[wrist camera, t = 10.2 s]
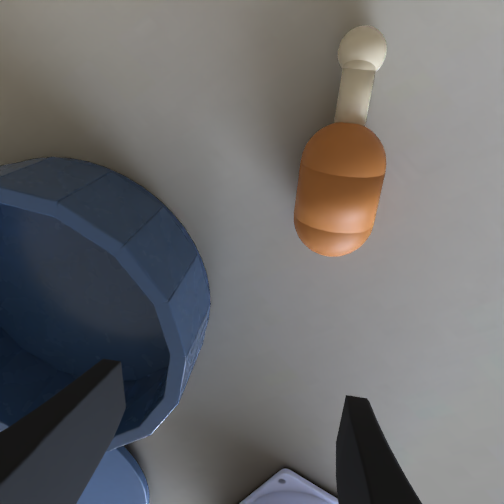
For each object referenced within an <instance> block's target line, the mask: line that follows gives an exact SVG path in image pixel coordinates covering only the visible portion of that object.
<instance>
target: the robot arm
mask: <svg viewBox="0 0 504 504" xmlns="http://www.w3.org/2000/svg"><path fill="white" fill-rule="evenodd" d="M125 409H126V403H125V394H124V384H123V375H122V366H121V361H116V360H109V359H102V360H101V361H99V362H98V363H97V364H95V365H94V366H93V367H91V368H90V369H89V370H87V371H86V372H85V373H84V374H82V375H81V376H80V377H78V378H77V379H76V380H74V381H73V382H72V383H70V384H69V385H68V386H67V387H65V388H64V389H62V390H61V391H60V392H58V393H57V394H56V395H54V396H53V397H52V398H50V399H49V400H48V401H46V402H45V403H43V404H42V405H41V406H39V407H38V408H36V409H35V410H33V411H32V412H30V413H29V414H27V415H26V416H25V417H23V418H22V419H20V420H19V421H17V422H16V423H14V424H13V425H11V426H9V427H8V428H6V429H5V430H3V431H1V432H0V504H76V503H77V502H78V500H79V498H80V496H81V495H82V493H83V491H84V489H85V488H86V486H87V484H88V482H89V481H90V479H91V477H92V475H93V474H94V472H95V470H96V468H97V467H98V465H99V463H100V461H101V460H102V458H103V456H104V454H105V452H106V451H107V449H108V447H109V445H110V443H111V442H112V440H113V438H114V435H115V433H116V431H117V429H118V426H119V424H120V421H121V419H122V417H123V414H124V412H125ZM336 481H337V492H338V499H337V498H336V497H334V496H332V495H331V494H329V493H327V492H326V491H324V490H322V489H321V488H319V487H317V486H316V485H314V484H313V483H311V482H309V481H308V480H306V479H304V478H303V477H301V476H299V475H298V474H296V473H294V472H293V471H291V470H289V469H282V470H280V471H279V472H278V473H276V474H275V475H274V476H273V477H271V478H270V479H269V480H268V481H266V482H265V483H264V484H263V485H262V486H260V487H259V488H258V489H257V490H255V491H254V492H253V493H252V494H250V495H249V496H248V497H247V498H245V499H244V500H243V501H242V502H240V503H239V504H422V503H421V501H420V500H419V498H418V496H417V495H416V493H415V491H414V490H413V488H412V486H411V485H410V483H409V481H408V480H407V478H406V476H405V474H404V473H403V471H402V469H401V467H400V466H399V464H398V462H397V460H396V458H395V456H394V454H393V452H392V451H391V449H390V447H389V445H388V443H387V441H386V439H385V437H384V434H383V432H382V430H381V428H380V426H379V424H378V422H377V419H376V417H375V415H374V412H373V410H372V407H371V405H370V402H369V401H368V400H367V398H360V397H354V396H347V395H346V398H345V403H344V407H343V412H342V417H341V422H340V427H339V431H338V436H337V441H336Z"/></svg>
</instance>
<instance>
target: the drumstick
mask: <svg viewBox="0 0 504 504" xmlns="http://www.w3.org/2000/svg"><path fill="white" fill-rule="evenodd" d="M386 52H387V45H386V40H385V38H384V36H383V34H382V33H381V32H380V31H379V30H378V29H376V28H374V27H372V26H367V25H363V26H358V27H355V28H353V29H352V30H350V31H349V32H348V33H347V34H346V35H345V36H344V37H343V39H342V40H341V42H340V45H339V48H338V61H339V64H340V66H341V68H342V75H341V82H340V88H339V94H338V101H337V107H336V113H335V119H334V123H333V124H330V125H328V126H325V127H324V128H322V129H320V130H319V131H318V132H316V133H315V134H314V135H313V136H312V137H311V138H310V140H309V141H308V143H307V144H306V146H305V148H304V151H303V153H302V158H301V163H300V170H299V178H298V186H297V194H296V201H295V209H294V224H295V229H296V231H297V234H298V236H299V238H300V239H301V241H302V242H303V243H304V244H305V245H306V246H307V247H308V248H309V249H311V250H312V251H314V252H316V253H318V254H321V255H324V256H343V255H346V254H349V253H351V252H353V251H355V250H356V249H358V248H359V247H360V246H361V245H362V244H363V243H364V242H365V241H366V240H367V238H368V237H369V235H370V233H371V231H372V228H373V225H374V220H375V216H376V211H377V207H378V202H379V198H380V193H381V189H382V184H383V180H384V176H385V169H386V154H385V151H384V148H383V145H382V144H381V142H380V140H379V138H378V137H377V136H376V135H375V134H374V133H373V132H372V131H371V130H369V129H368V128H367V127H365V124H366V118H367V113H368V108H369V103H370V98H371V92H372V87H373V82H374V77H375V72H376V71H377V70H378V69H379V68H380V67H381V65H382V64H383V62H384V60H385V57H386Z"/></svg>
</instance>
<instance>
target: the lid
mask: <svg viewBox="0 0 504 504" xmlns="http://www.w3.org/2000/svg"><path fill="white" fill-rule="evenodd" d="M0 432H1V431H0ZM76 504H149V489H148V484H147V481H146V478H145V476H144V474H143V472H142V470H141V468H140V466H139V465H138V463H137V462H136V460H135V459H134V457H133V456H132V455H131V454H130V453H129V451H128V450H127V449H126V448H125V447H124V446H121V447H118V448H116V449H113V450H110V451H106V452H105V454H104V456H103V458H102V460H101V461H100V463H99V465H98V467H97V468H96V470H95V472H94V474H93V475H92V477H91V479H90V481H89V482H88V484H87V486H86V488H85V489H84V491H83V493H82V495H81V496H80V498H79V500H78V502H77V503H76Z"/></svg>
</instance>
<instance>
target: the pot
mask: <svg viewBox="0 0 504 504" xmlns="http://www.w3.org/2000/svg"><path fill="white" fill-rule="evenodd" d="M210 305H211V303H210V289H209V283H208V278H207V274H206V271H205V268H204V265H203V262H202V259H201V256H200V254H199V252H198V250H197V248H196V246H195V244H194V242H193V241H192V239H191V237H190V236H189V234H188V233H187V231H186V230H185V228H184V227H183V225H182V224H181V223H180V222H179V221H178V219H177V218H176V217H175V216H174V215H173V213H172V212H171V211H170V210H169V209H168V208H167V207H166V206H165V205H164V204H163V203H162V202H161V201H160V200H158V199H157V198H156V197H155V196H154V195H152V194H151V193H150V192H148V191H147V190H146V189H144V188H143V187H142V186H140V185H139V184H137V183H135V182H134V181H132V180H130V179H129V178H127V177H125V176H124V175H121V174H119V173H117V172H115V171H113V170H110V169H108V168H106V167H103V166H100V165H97V164H94V163H90V162H87V161H82V160H77V159H71V158H58V157H47V158H36V159H30V160H27V161H23V162H19V163H13V164H7V165H2V166H0V431H3V430H5V429H6V428H8V427H9V426H11V425H13V424H14V423H16V422H17V421H19V420H20V419H22V418H23V417H25V416H26V415H27V414H29V413H30V412H32V411H33V410H35V409H36V408H38V407H39V406H41V405H42V404H43V403H45V402H46V401H48V400H49V399H50V398H52V397H53V396H54V395H56V394H57V393H58V392H60V391H61V390H62V389H64V388H65V387H67V386H68V385H69V384H70V383H72V382H73V381H74V380H76V379H77V378H78V377H80V376H81V375H82V374H84V373H85V372H86V371H87V370H89V369H90V368H91V367H93V366H94V365H95V364H97V363H98V362H99V361H101V360H102V359H109V360H116V361H121V366H122V375H123V384H124V394H125V403H126V409H125V412H124V414H123V417H122V419H121V421H120V424H119V426H118V429H117V431H116V433H115V435H114V438H113V440H112V442H111V443H110V445H109V447H108V449H107V451H110V450H113V449H116V448H118V447H121V446H124V445H126V444H129V443H131V442H134V441H137V440H139V439H142V438H145V437H147V436H150V435H151V434H152V433H153V432H154V431H155V430H156V429H157V428H158V426H159V425H160V424H161V423H162V422H163V421H164V420H165V419H166V417H167V416H168V415H169V414H170V413H171V412H172V411H173V409H174V408H175V407H176V406H177V405H178V404H179V401H180V399H181V396H182V394H183V392H184V389H185V387H186V384H187V382H188V379H189V377H190V374H191V372H192V369H193V367H194V364H195V362H196V359H197V357H198V355H199V352H200V350H201V347H202V345H203V341H204V336H205V331H206V327H207V324H208V320H209V313H210Z"/></svg>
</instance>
